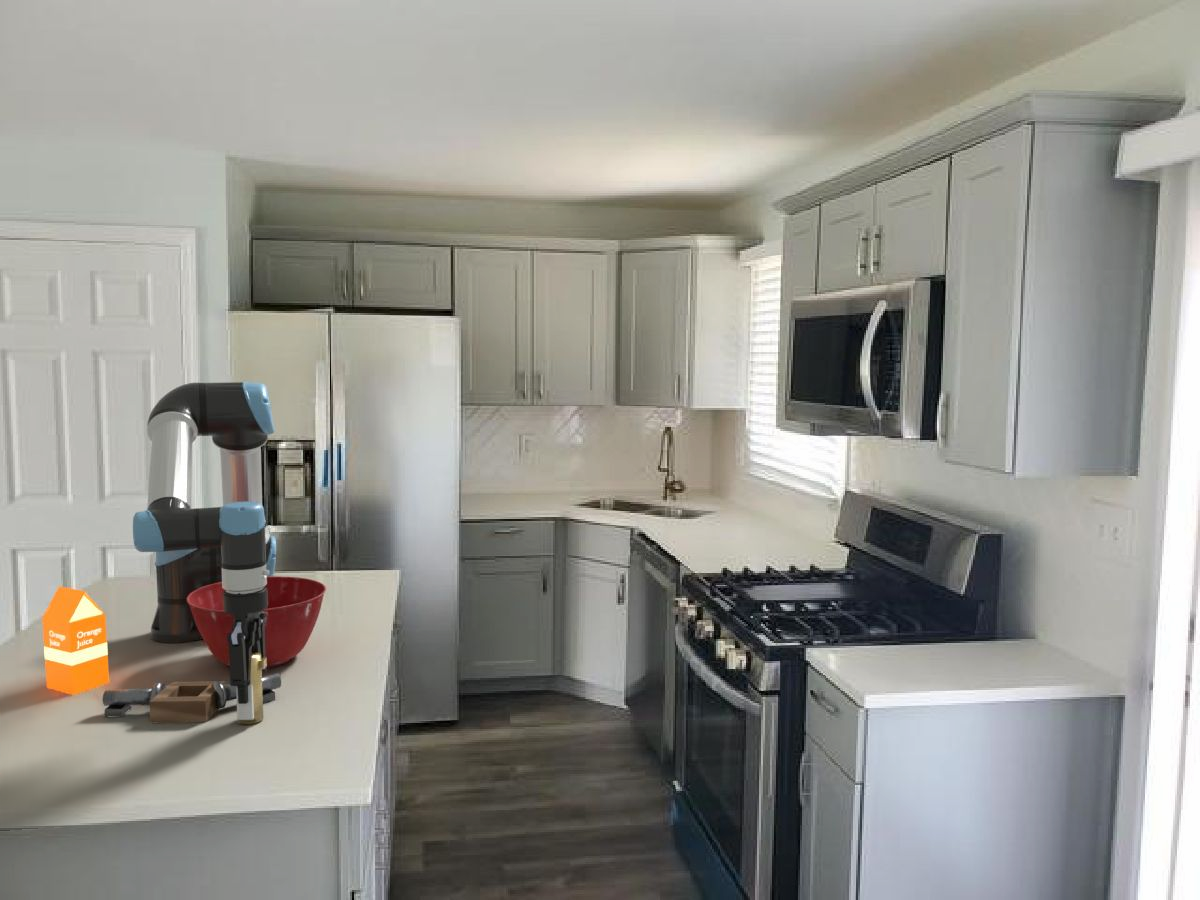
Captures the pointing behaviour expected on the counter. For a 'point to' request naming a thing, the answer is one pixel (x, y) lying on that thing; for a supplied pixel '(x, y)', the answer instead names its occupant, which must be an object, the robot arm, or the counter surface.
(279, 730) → the counter surface
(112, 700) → the shaft
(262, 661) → the joint pin
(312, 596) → the mixing bowl
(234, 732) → the counter surface
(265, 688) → the shaft
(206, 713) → the coupling block
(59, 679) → the orange juice
